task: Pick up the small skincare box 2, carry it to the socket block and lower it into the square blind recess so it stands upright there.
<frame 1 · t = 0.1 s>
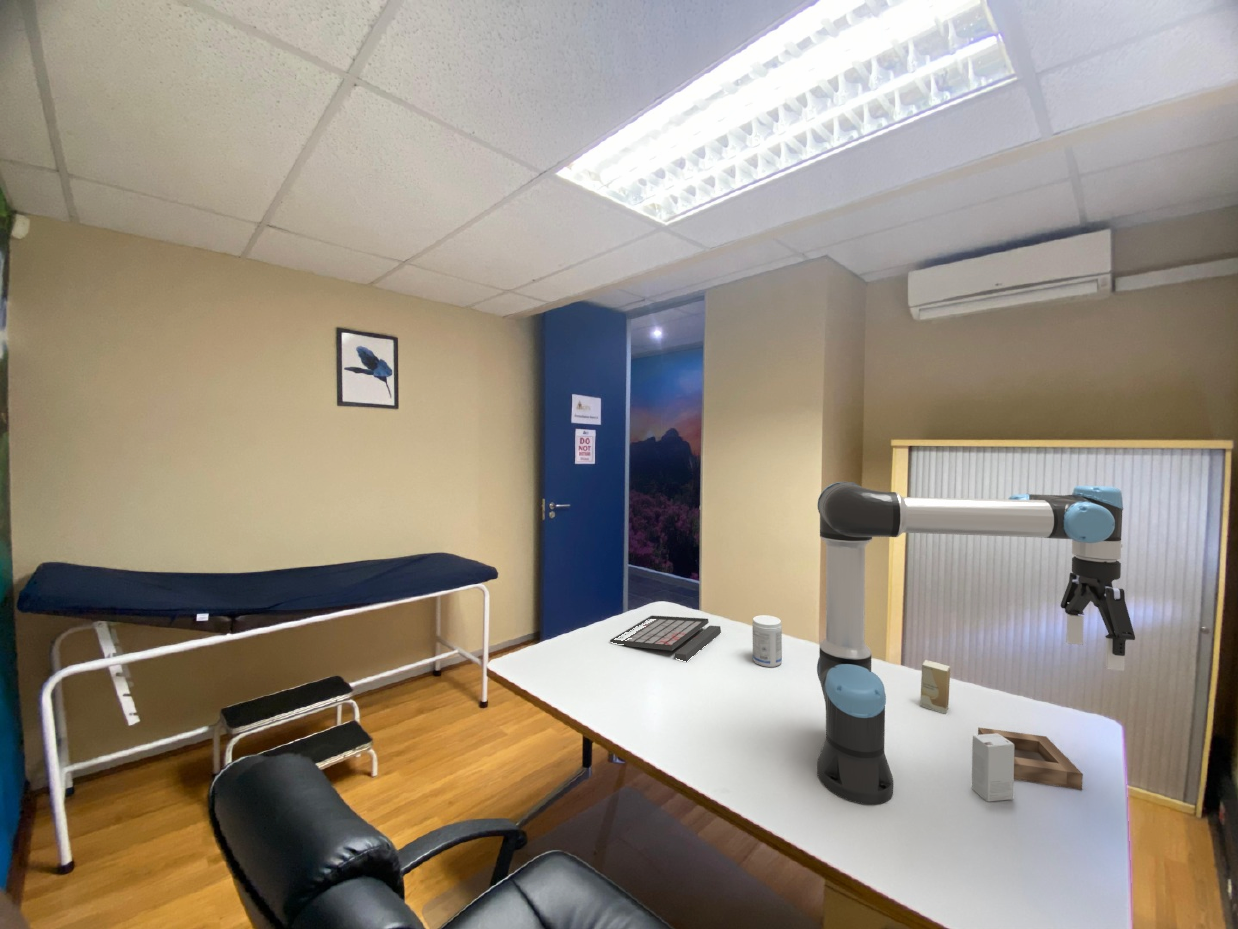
hand: (1093, 656, 106), 28 cm above the table, fingers open, 13 cm apart
supplement tub: (767, 662, 167), on the table
skincare box: (934, 708, 137), on the table
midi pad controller: (667, 639, 189), on the table
socket block: (1026, 763, 113), on the table
skincare box 2: (992, 796, 103), on the table
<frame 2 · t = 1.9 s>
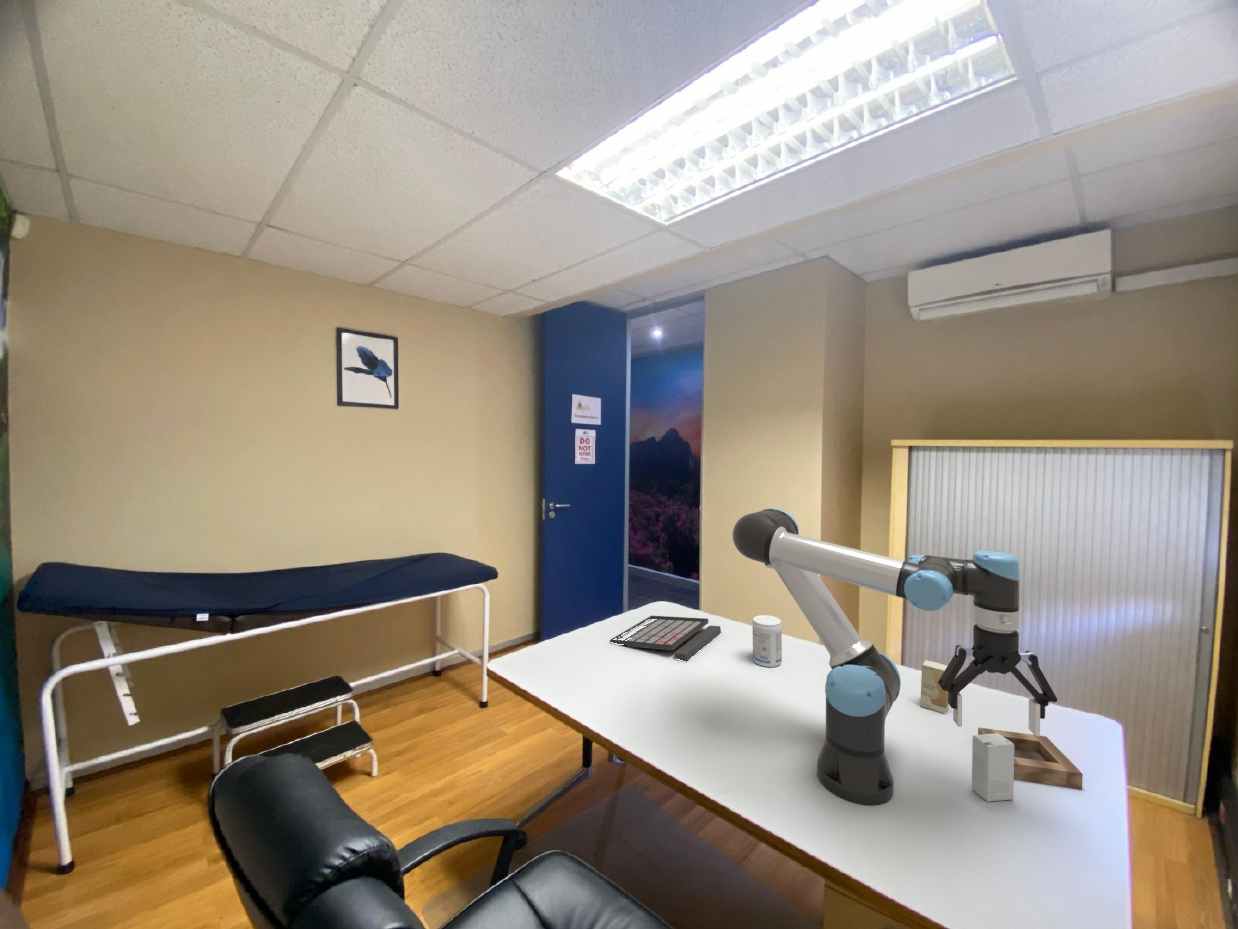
hand: (995, 728, 102), 14 cm above the table, fingers open, 13 cm apart
nothing on the table moved.
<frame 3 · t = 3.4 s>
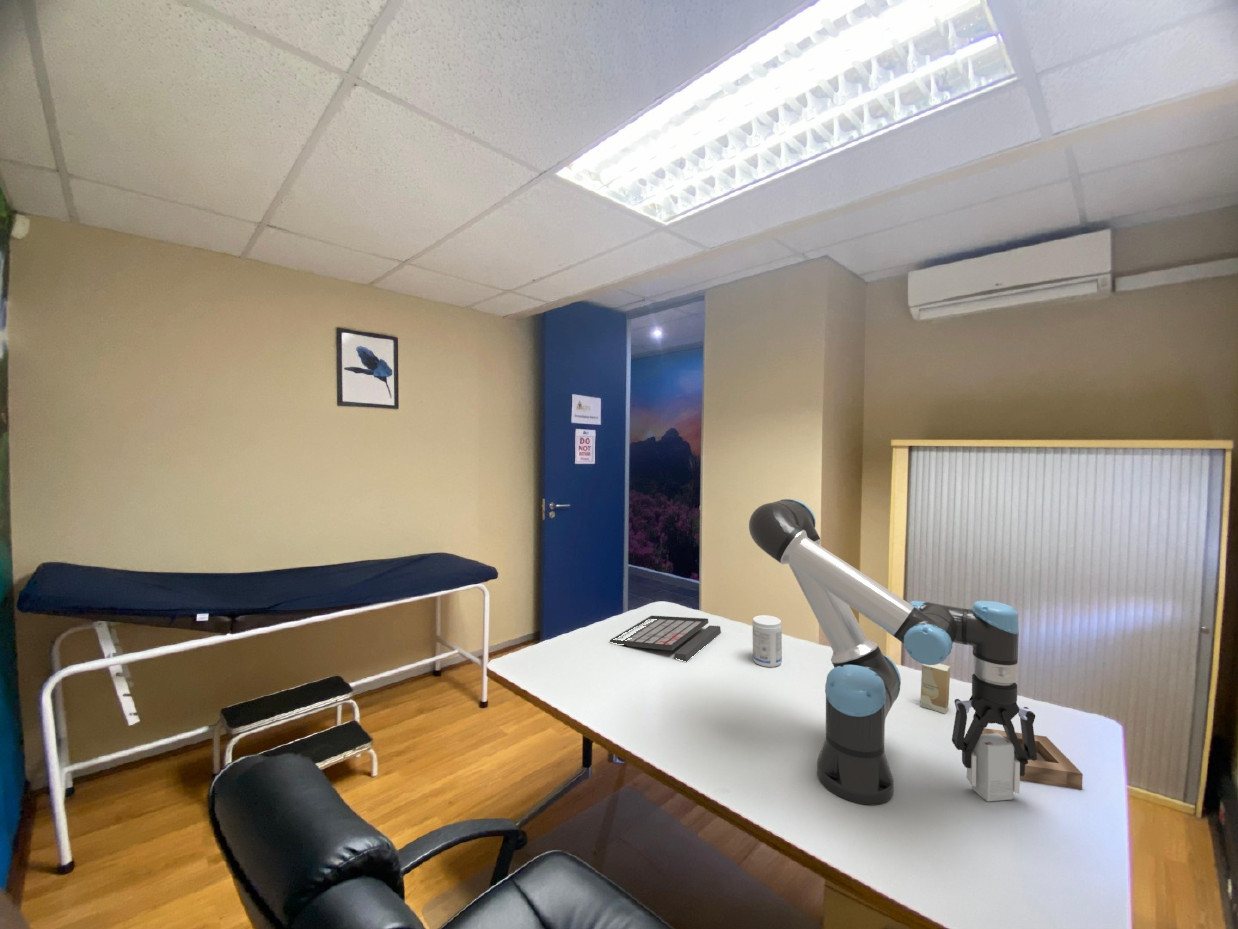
hand: (992, 785, 103), 2 cm above the table, fingers closed on skincare box 2, 7 cm apart
skincare box 2: (992, 796, 103), on the table, touching gripper
everything else where it was.
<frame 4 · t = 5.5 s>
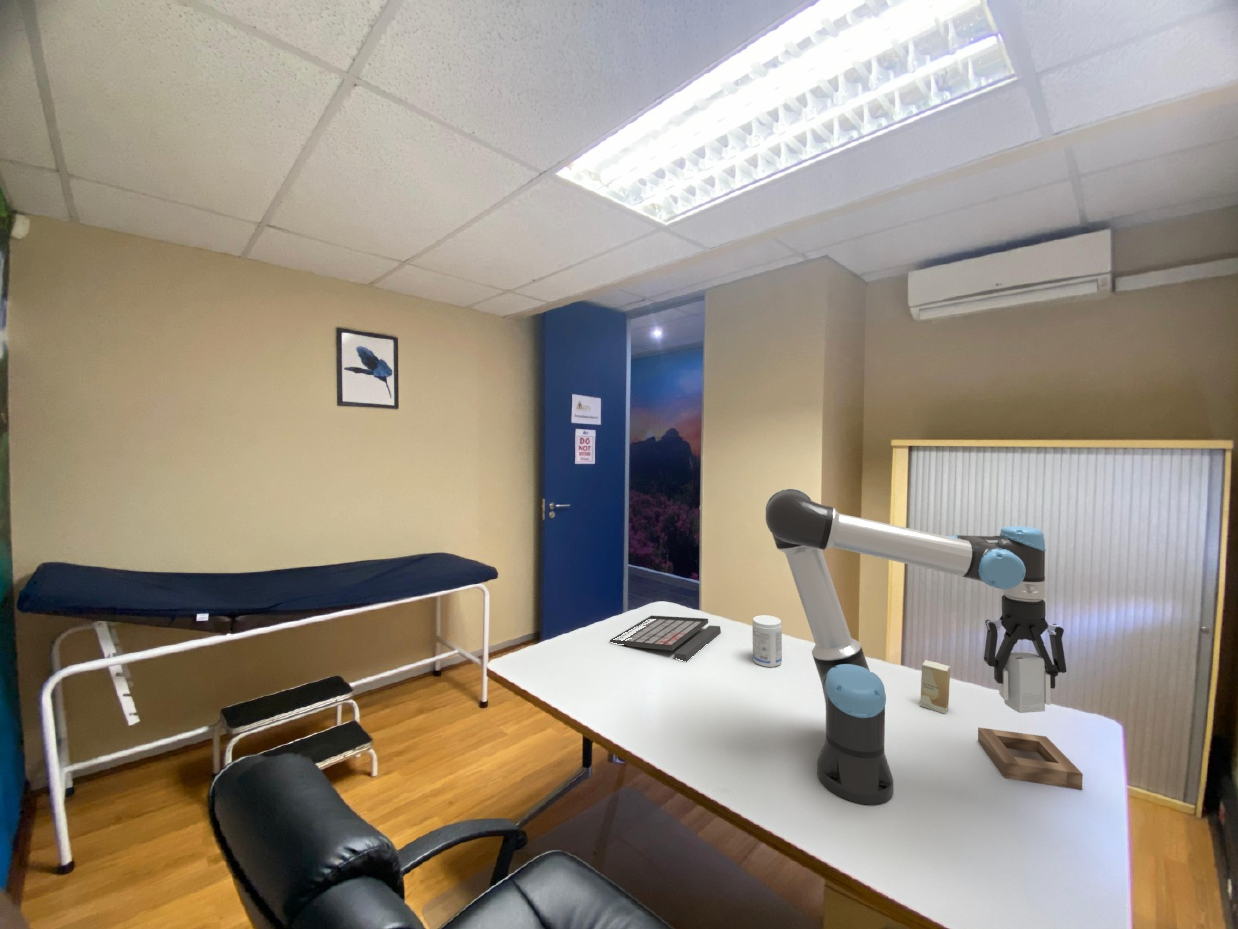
hand: (1024, 699, 109), 17 cm above the table, fingers closed on skincare box 2, 7 cm apart
skincare box 2: (1024, 709, 109), point 15 cm above the table, touching gripper
everything else where it was.
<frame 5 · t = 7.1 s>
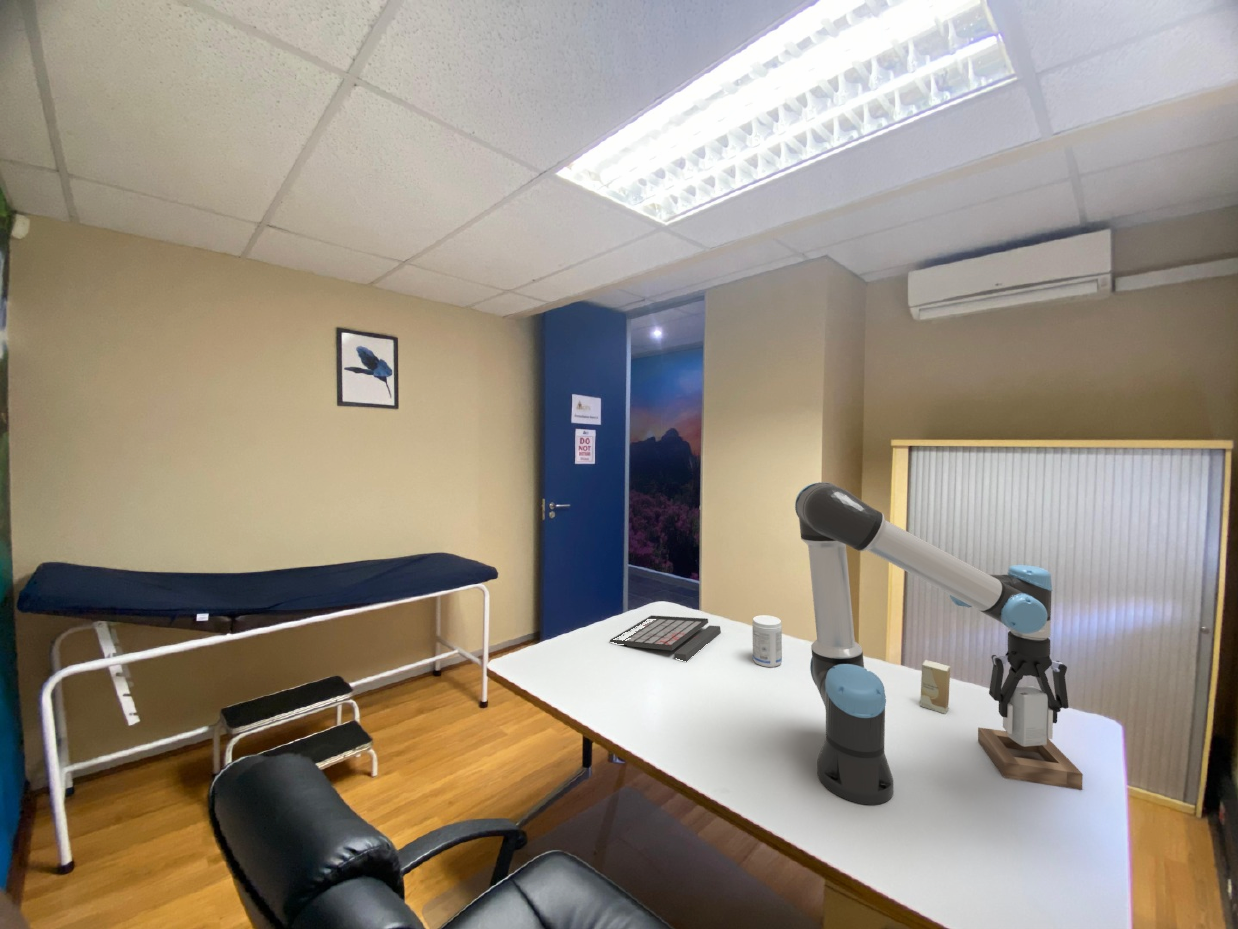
hand: (1027, 732, 113), 7 cm above the table, fingers closed on skincare box 2, 7 cm apart
skincare box 2: (1026, 742, 113), point 5 cm above the table, touching gripper
everything else where it was.
when the fingers open (4 cm above the table, at t = 7.9 s): skincare box 2 drops 2 cm, resting on socket block.
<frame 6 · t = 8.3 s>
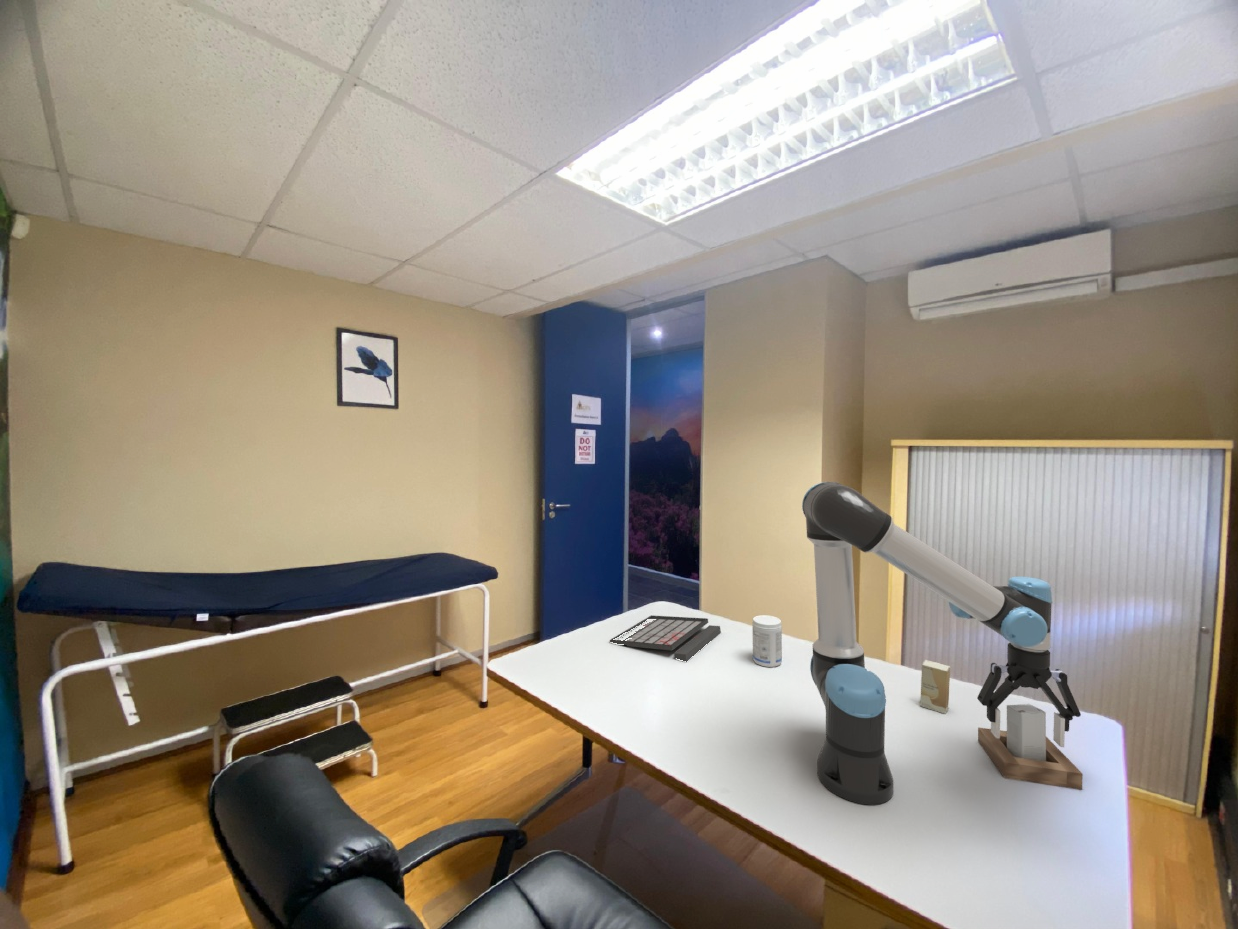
hand: (1026, 739, 113), 6 cm above the table, fingers open, 11 cm apart
skincare box 2: (1026, 761, 113), point 1 cm above the table, touching socket block
everything else where it was.
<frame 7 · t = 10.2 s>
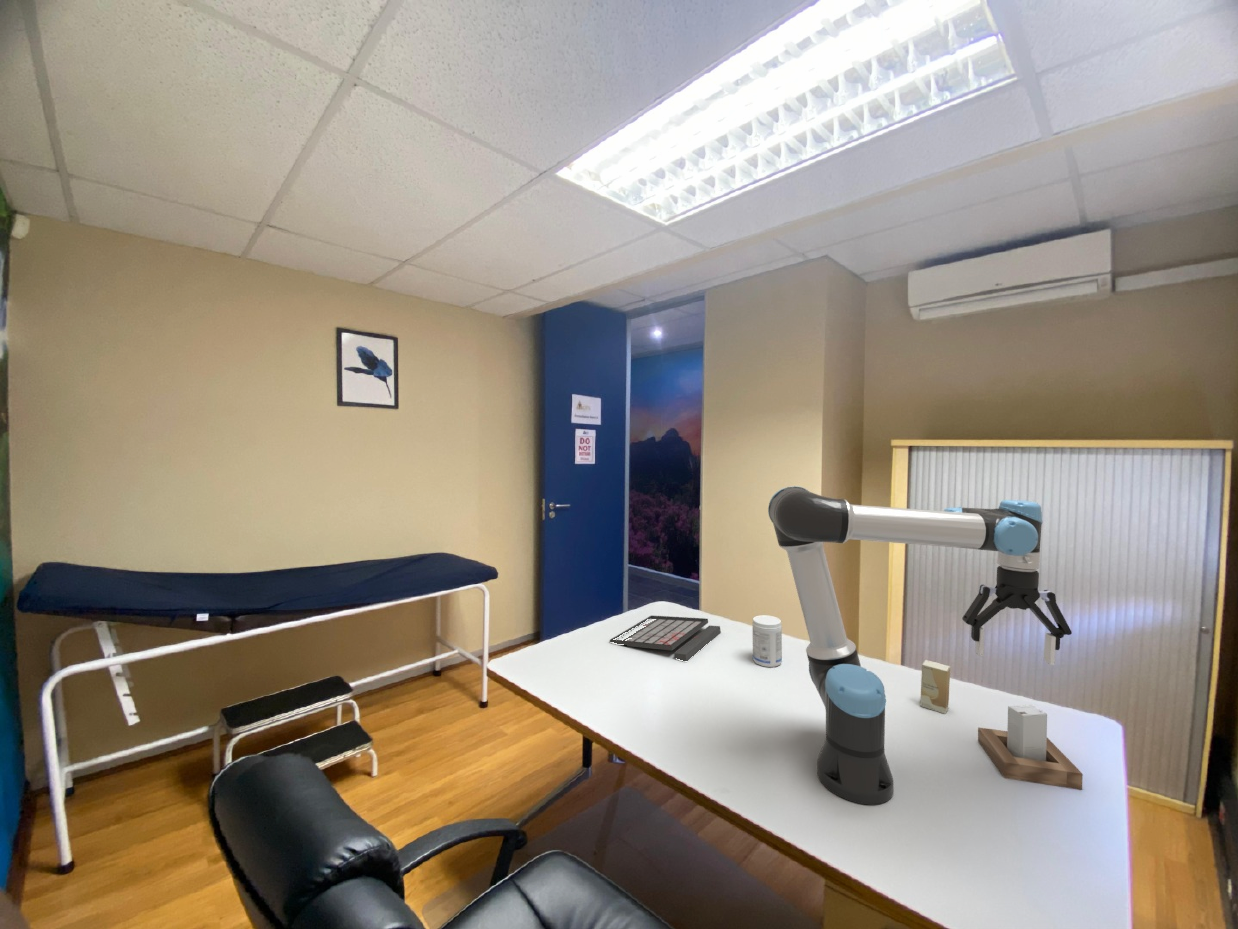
hand: (1013, 659, 113), 24 cm above the table, fingers open, 13 cm apart
nothing on the table moved.
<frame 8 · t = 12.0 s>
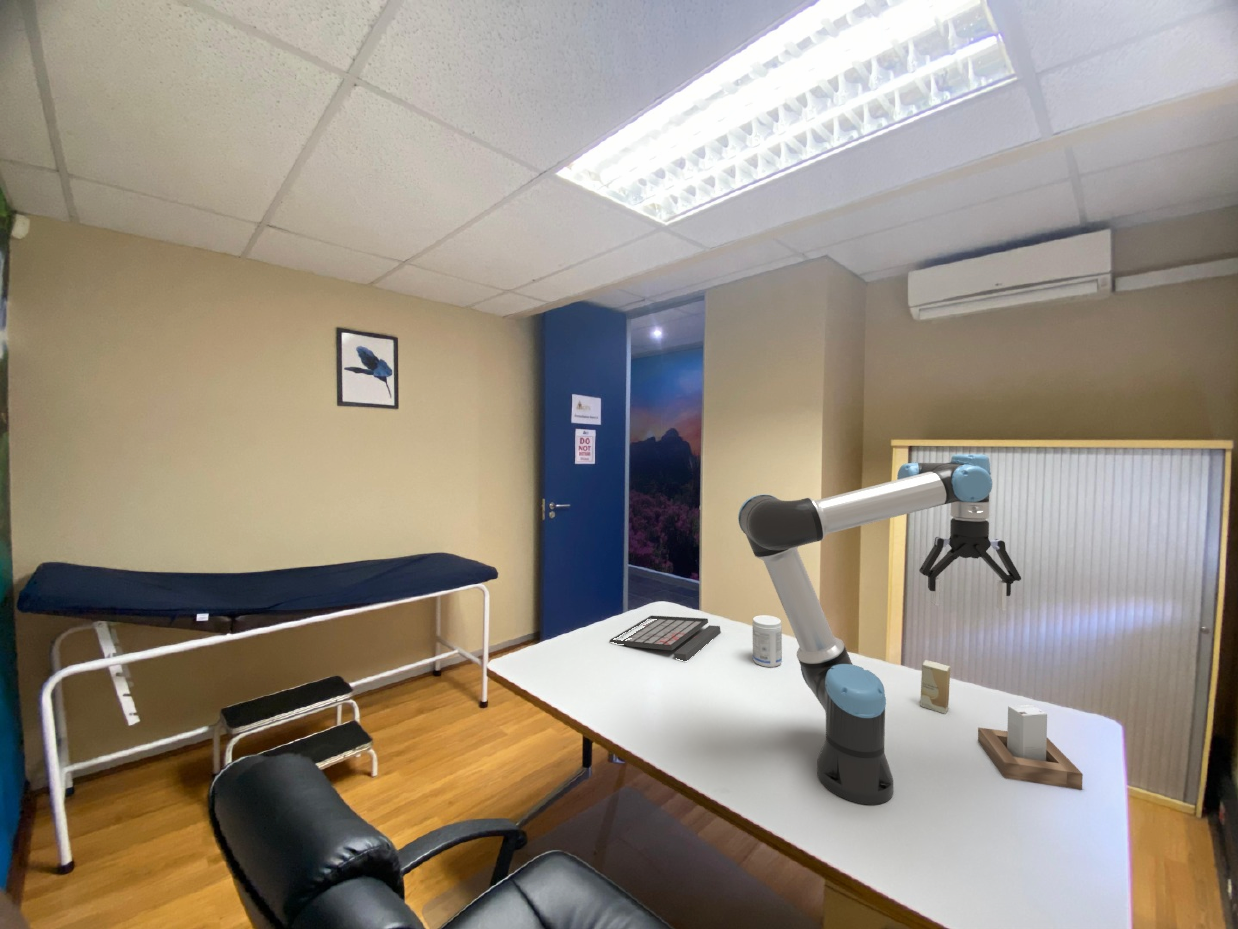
hand: (967, 606, 118), 35 cm above the table, fingers open, 13 cm apart
nothing on the table moved.
at the end: skincare box 2 0.1 cm off-centre on the socket block, point 0.6 cm above the socket block's base; skincare box 2 tilted 0°; the gripper is holding nothing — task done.
